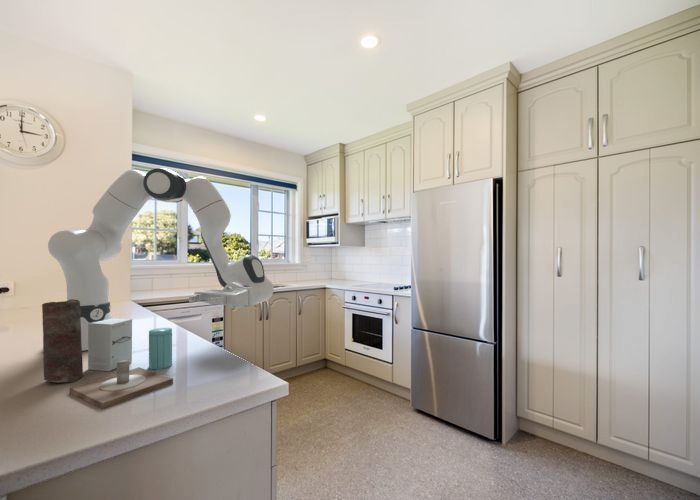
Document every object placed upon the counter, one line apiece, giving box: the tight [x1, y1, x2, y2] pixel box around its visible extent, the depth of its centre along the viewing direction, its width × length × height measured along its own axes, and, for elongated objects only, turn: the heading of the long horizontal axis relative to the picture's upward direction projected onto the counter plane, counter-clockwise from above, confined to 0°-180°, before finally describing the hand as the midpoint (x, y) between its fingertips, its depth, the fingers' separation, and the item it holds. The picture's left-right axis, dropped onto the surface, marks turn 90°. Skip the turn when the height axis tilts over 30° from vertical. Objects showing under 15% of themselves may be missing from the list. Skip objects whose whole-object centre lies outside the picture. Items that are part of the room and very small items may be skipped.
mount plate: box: [69, 360, 174, 409], centre depth 78 cm, size 15×15×6 cm
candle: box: [41, 299, 84, 384], centre depth 83 cm, size 8×7×20 cm
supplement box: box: [87, 317, 133, 372], centre depth 93 cm, size 7×7×13 cm
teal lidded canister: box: [148, 327, 173, 370], centre depth 93 cm, size 6×6×10 cm
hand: (199, 300), depth 104 cm, fingers open, 8 cm apart
